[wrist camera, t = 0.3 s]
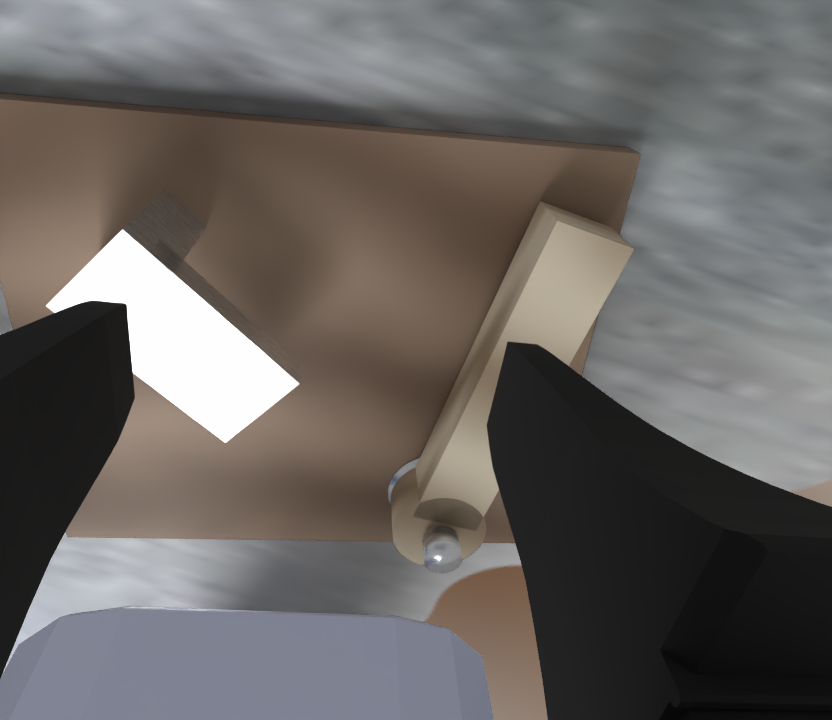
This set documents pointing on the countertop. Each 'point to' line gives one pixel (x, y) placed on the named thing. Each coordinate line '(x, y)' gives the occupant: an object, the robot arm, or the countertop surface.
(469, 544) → the link
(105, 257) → the keeper
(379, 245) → the wooden cutting board
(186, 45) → the countertop surface
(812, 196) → the countertop surface
